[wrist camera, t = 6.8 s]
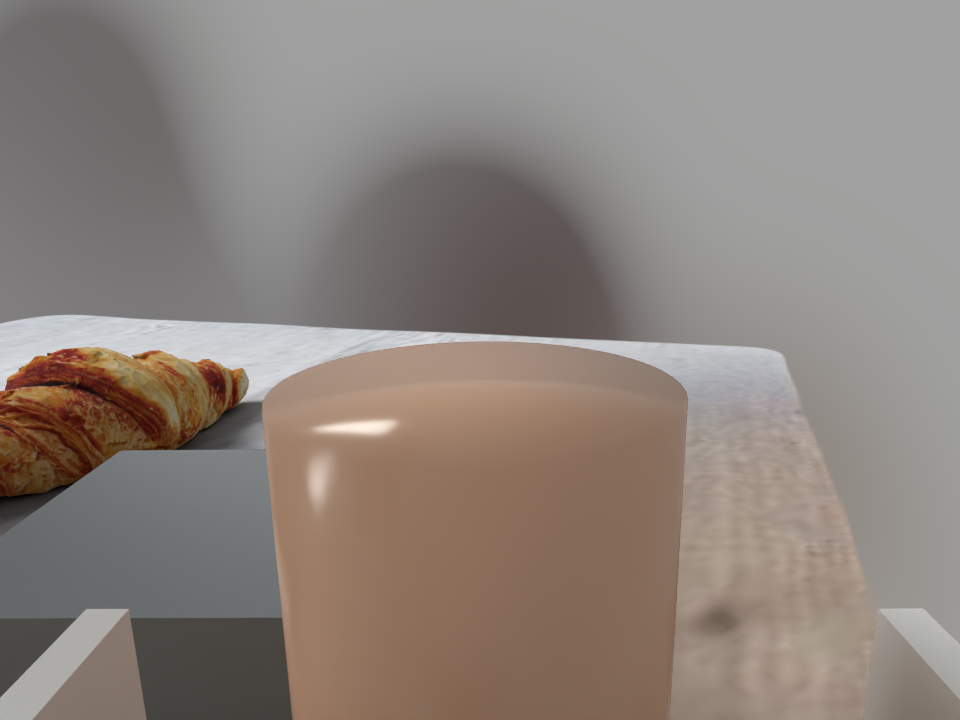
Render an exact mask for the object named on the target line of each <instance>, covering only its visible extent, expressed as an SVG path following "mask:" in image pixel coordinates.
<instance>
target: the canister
mask: <svg viewBox="0 0 960 720" xmlns="http://www.w3.org/2000/svg"><path fill="white" fill-rule="evenodd" d="M687 411H688V397H687V393H686V391H685V389H684V388H683V386H682V385H681V384H680V383H679V382H678V381H677V380H676V379H674V378H673V377H672V376H670V375H669V374H667V373H665V372H663V371H662V370H660V369H657V368H655V367H653V366H651V365H648V364H646V363H643V362H640V361H637V360H634V359H630V358H627V357H623V356H619V355H615V354H611V353H606V352H601V351H596V350H590V349H584V348H578V347H570V346H562V345H552V344H541V343H524V342H454V343H436V344H425V345H414V346H406V347H397V348H391V349H384V350H377V351H372V352H367V353H361V354H357V355H352V356H348V357H344V358H340V359H336V360H333V361H329V362H325V363H322V364H319V365H316V366H314V367H311V368H308V369H306V370H303V371H301V372H299V373H296V374H294V375H292V376H290V377H289V378H287V379H285V380H283V381H281V382H280V383H279V384H277V385H276V386H275V387H273V388H272V389H271V390H270V391H269V393H268V394H267V395H266V396H265V398H264V400H263V403H262V419H263V429H264V439H265V449H266V459H267V469H268V479H269V489H270V499H271V509H272V519H273V529H274V539H275V549H276V559H277V569H278V579H279V589H280V599H281V609H282V619H283V629H284V639H285V649H286V659H287V669H288V679H289V689H290V699H291V710H292V720H670V706H671V688H672V671H673V654H674V636H675V619H676V602H677V584H678V567H679V550H680V532H681V515H682V498H683V480H684V463H685V445H686V428H687Z"/></svg>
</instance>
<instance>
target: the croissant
mask: <svg viewBox="0 0 960 720" xmlns="http://www.w3.org/2000/svg"><path fill="white" fill-rule="evenodd" d="M132 356H133V357H134V359H133V358H131V357H128V356H126V355H123V354H121V353H118V352H115V351H112V350H109V349H106V348H98V347H96V348H90V347H85V348H70V349H62V350H58V351H56V352H54V353H47V356H36V357H34V359H33V360H32V361H31V362H30V363H29V364H27V365H25V366H23V367H21V368H20V369H19V372H17V373H16V374H14V375H12V376H10V377H9V378H8V379H7V385H6V388H5V391H0V497H1V496H9V497H11V496H17V495H24V494H35V493H45V492H48V491H49V490H51V489H53V488H56V487H59V486H61V485H68V484H71V483H76V482H77V481H79V480H80V479H81V478H83V477H84V476H86V475H87V474H89V473H90V472H91V471H93V470H94V469H96V468H97V467H98V466H100V465H101V464H103V463H104V462H105V461H107V460H108V459H110V458H111V457H113V456H114V455H115V454H117V453H118V452H120V451H130V450H175V449H177V448H178V447H180V446H181V445H183V444H185V443H186V442H187V441H189V440H190V439H192V438H193V437H194V436H195V435H196V434H197V433H198V431H199V430H202V428H203V429H206V428H207V427H209V426H210V425H212V424H213V423H214V422H215V421H217V420H218V419H219V417H220V416H221V415H222V414H223V412H224V411H225V410H229V409H232V408H233V407H234V406H235V405H237V404H238V403H239V402H240V401H241V400H242V399H243V397H244V396H245V395H246V392H247V389H248V384H249V380H248V377H247V375H246V373H245V370H244V369H242V368H240V369H235V370H230V369H228V368H224V367H223V366H222V365H221V364H220V363H215V362H213V361H211V360H210V359H203V360H201V361H199V362H197V363H194V362H190V361H189V360H186V359H178V358H176V357H174V356H173V355H171V354H167V353H164V352H162V351H148V352H145V353H142V354H138V355H132Z"/></svg>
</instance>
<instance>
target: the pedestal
mask: <svg viewBox="0 0 960 720" xmlns="http://www.w3.org/2000/svg"><path fill="white" fill-rule="evenodd" d="M86 609H129V613H130V619H131V626H132V632H133V638H134V644H135V651H136V657H137V663H138V669H139V675H140V682H141V688H142V694H143V700H144V707H145V713H146V719H147V720H292V710H291V699H290V689H289V679H288V669H287V659H286V649H285V639H284V629H283V619H282V609H281V599H280V589H279V579H278V569H277V559H276V549H275V539H274V529H273V519H272V509H271V499H270V489H269V479H268V469H267V459H266V449H238V450H130V451H120V452H118V453H117V454H115V455H114V456H113V457H111V458H110V459H108V460H107V461H105V462H104V463H103V464H101V465H100V466H98V467H97V468H96V469H94V470H93V471H91V472H90V473H89V474H87V475H86V476H84V477H83V478H81V479H80V480H79V481H77V482H76V483H74V484H73V485H72V486H70V487H69V488H67V489H66V490H65V491H63V492H62V493H60V494H59V495H57V496H56V497H55V498H53V499H52V500H50V501H49V502H48V503H46V504H45V505H43V506H42V507H40V508H39V509H38V510H36V511H35V512H33V513H32V514H31V515H29V516H28V517H26V518H25V519H24V520H22V521H21V522H19V523H18V524H16V525H15V526H14V527H12V528H11V529H9V530H8V531H7V532H5V533H4V534H2V535H1V536H0V698H1V696H2V695H3V694H4V693H5V692H6V691H7V690H8V689H9V688H10V687H11V686H12V685H13V684H14V683H15V682H16V681H17V680H18V679H19V678H20V677H21V676H22V675H23V674H24V673H25V672H26V671H27V670H28V669H29V668H30V667H31V666H32V665H33V664H34V663H35V661H36V660H37V659H38V658H39V657H40V656H41V655H42V654H43V653H44V652H45V651H46V650H47V649H48V648H49V647H50V646H51V645H52V644H53V643H54V642H55V641H56V640H57V639H58V638H59V637H60V636H61V635H62V634H63V633H64V632H65V631H66V630H67V629H68V627H69V626H70V625H71V624H72V623H73V622H74V621H75V620H76V619H77V618H78V617H79V616H80V615H81V614H82V613H83V612H84V611H85V610H86Z"/></svg>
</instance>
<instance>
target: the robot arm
mask: <svg viewBox="0 0 960 720" xmlns="http://www.w3.org/2000/svg"><path fill="white" fill-rule="evenodd" d="M0 720H147V719H146V713H145V707H144V700H143V694H142V688H141V682H140V675H139V669H138V663H137V657H136V651H135V644H134V638H133V632H132V626H131V619H130V613H129V609H86V610H85V611H84V612H83V613H82V614H81V615H80V616H79V617H78V618H77V619H76V620H75V621H74V622H73V623H72V624H71V625H70V626H69V627H68V629H67V630H66V631H65V632H64V633H63V634H62V635H61V636H60V637H59V638H58V639H57V640H56V641H55V642H54V643H53V644H52V645H51V646H50V647H49V648H48V649H47V650H46V651H45V652H44V653H43V654H42V655H41V656H40V657H39V658H38V659H37V660H36V661H35V663H34V664H33V665H32V666H31V667H30V668H29V669H28V670H27V671H26V672H25V673H24V674H23V675H22V676H21V677H20V678H19V679H18V680H17V681H16V682H15V683H14V684H13V685H12V686H11V687H10V688H9V689H8V690H7V691H6V692H5V693H4V694H3V695H2V696H1V698H0ZM863 720H960V645H959V644H958V643H957V642H956V641H955V640H954V639H953V638H952V637H951V636H950V635H949V634H948V633H947V632H946V631H945V630H944V629H943V628H942V627H941V626H940V625H939V624H938V623H937V622H936V621H935V620H934V619H933V618H932V617H931V616H930V615H929V614H928V613H927V612H926V611H925V610H924V609H878V614H877V621H876V628H875V635H874V642H873V649H872V657H871V664H870V671H869V678H868V685H867V692H866V700H865V707H864V714H863Z"/></svg>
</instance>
